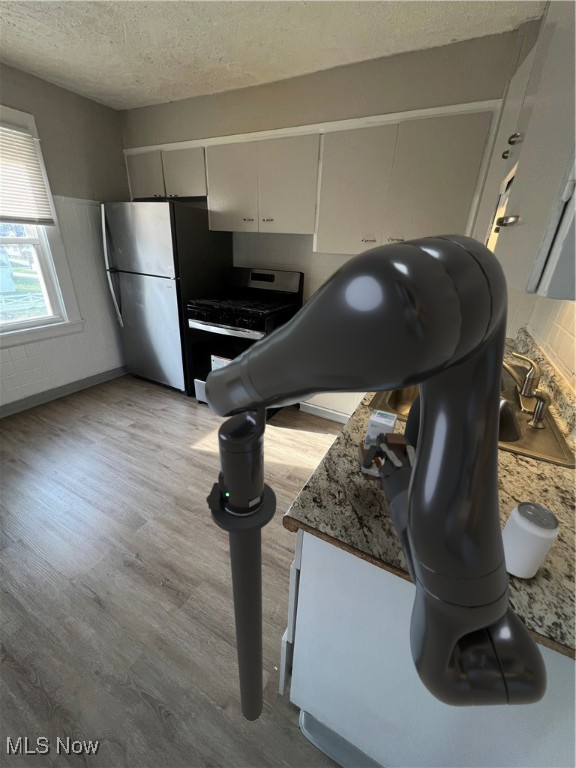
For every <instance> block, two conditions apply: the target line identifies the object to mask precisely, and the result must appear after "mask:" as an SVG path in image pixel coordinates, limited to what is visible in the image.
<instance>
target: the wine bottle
mask: <svg viewBox="0 0 576 768" xmlns="http://www.w3.org/2000/svg"><path fill="white" fill-rule="evenodd" d="M419 427H420V393H419V394H418V395H417V396H416V397H415V399H413V402H412V403H411V405H410V407H409V409H408V414H407V419H406V422H405V427H404V432H403V435H404V437H406V438H407V439H408V440H409V442H410V445H411V446H412V447H414V449H416V447H417V441H418V436H419Z"/></svg>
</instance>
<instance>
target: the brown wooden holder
mask: <svg viewBox="0 0 576 768" xmlns="http://www.w3.org/2000/svg"><path fill="white" fill-rule="evenodd" d="M403 435H404V434H403V433H397V432H394V433H386V434H385V439H386V442H387V446H388V448H389V449H390V450H392V451H393V452H394V454H395V456H396V457H397V458H403V456H404V452H405V448H406V441H405V439H404V437H403ZM364 446H365V445H364V442H358V448H357V453H358V459H359V464H360V468H361V470H362V465H363V461H364V459H365V457H366V454H367V452H368V450H369V449H364ZM381 466H382V463H381V461H380V463H379V466H376V467H377V468H378V469H379V468H380V467H381ZM362 478H363V480H364V481H375V482H376V484H377V487H378V490H379V491H384V489H383V485H382V483H381V482H380V481H379V480H378V478H377V476H374V475H371V474H369V475H368V476H367V477H364V476H362Z"/></svg>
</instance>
